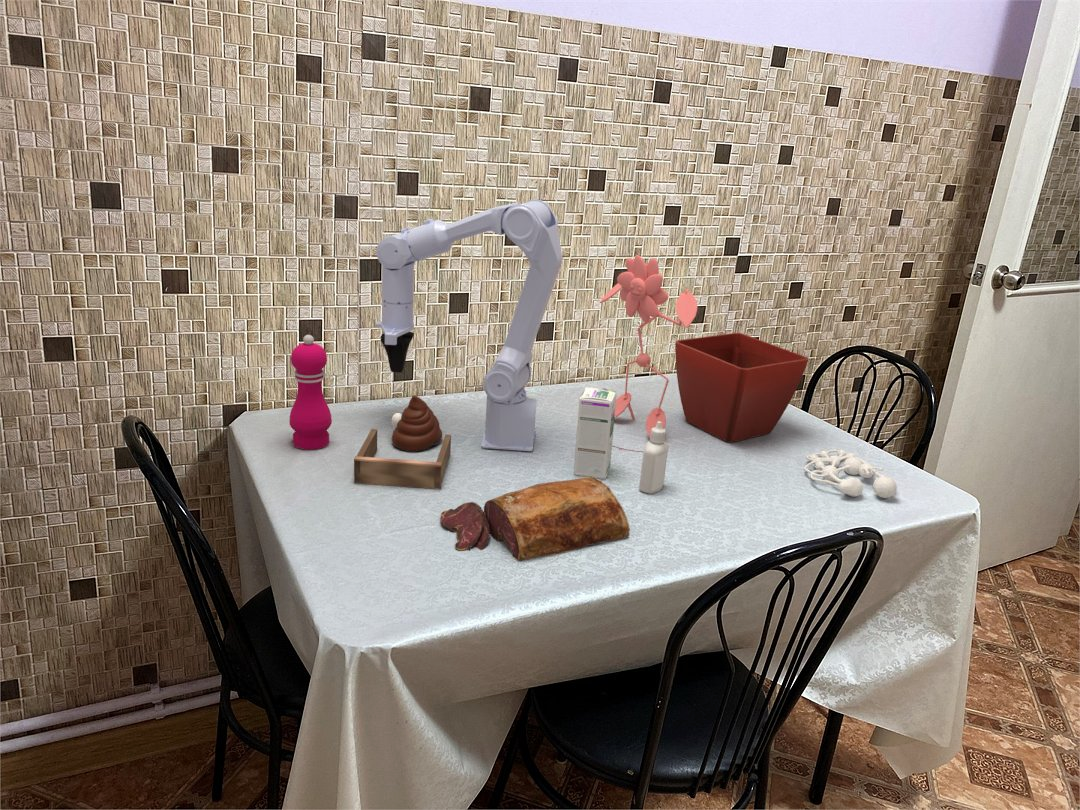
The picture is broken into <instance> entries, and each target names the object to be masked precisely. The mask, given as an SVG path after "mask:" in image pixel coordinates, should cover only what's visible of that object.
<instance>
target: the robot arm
mask: <svg viewBox="0 0 1080 810" xmlns="http://www.w3.org/2000/svg"><path fill="white" fill-rule="evenodd" d="M558 222H559V220H558V218H557V217H556V215H555V213H554V212H553V210H552V209H551V207H550V205H549V204H548V203H547V202H545V201H543V200H541V199H537V198H536V199H535V198H534V199H529V200H527V201H525V202H523V203H522V202H521V201H519V202H515V203H510V204H509V203H507V204H504V205H498V206H495V207H493V208H492V207H491V208H489V209H486V210H483V211H481V212H477V213H476V214H473V215H470V216H467V217H465V218H463V219H459V220H457V221H456V220H455V221H454V222H452V223H447V222H445V221H443V220H440V219H435V220H434V218H428V219H425V220H423V224H422V225H419V226H416V227H413V228H410V229H409V228H408V227H405V228H402V229H400V233H396V234H393V235H387V236H385V238H383V239H381V240H380V241H379V242H378V244H377V247H376V249H375V250H376V257H377V260H378V262H379V263H380V264H381V320H379V321H376V322H375V326H374V327H375V328H379V329H381V330H382V332H383V333H381V335H380V342H381V344H382V345H383V348H384V349H385V352H386V356H387V360H388V361H387V362H388V365H389V369H390V372H392V373H400V374H401V373H403V371H404V368H405V365H406V360H407V356H408V350H409V348H410V345H411V342H412V340H413V338H414V335H415V333H414V332H413V330H414V329H415V323H414V304H415V303H414V299H415V298H414V296H415V295H414V287H415V275H414V274H415V264H416V262H420V261H424V260H427V259H429V258H433V257H436V256H439V255H441V254H442V255H443V254H445V253H448V252H450V251H451V249H452V247H453V244H454V243H455V242H457V241H461V240H463V239H466V238H469V237H474V236H477V235H479V234H483V233H486V232H493V233H495V234H497V235H499V236H503V235H506V237H507V238H508V239H509V240H510V241H511V242H512V243H514V244H515V245H516V246H517V248H519V249H520V250H521V251H522V252H523V254H524V255H525V257H526V258H527V261H528V262H529V264H530V266H529V269H528V270H527V274H526V277H525V280H524V284H523V286H522V290H521V293H520V296H519V298H518V301H517V304H516V307H515V311H514V313H513V317H512V320H511V322H510V326H509V329H508V331H507V334H506V338H505V340H504V343H503V346H502V348H501V350H500V352H499V353H498V355H497V357H496V359H495V362H494V364H493V367H492V368H491V369H490V370H489V371H487V373H486V374H485V375H484V377H483V381H482V385H483V391H484V393H485V394H486V404H485V405H486V407H485V425H484V426H485V427H484V429H483V434H482V438H481V439H482V440H481V443H480V447H481V448H482V449H491V450H492V449H493V450H509V451H522V452H532V451H534V442H535V441H534V439H535V438H536V437H537V427H536V414H537V413H536V412H537V401H538V400H537V399H538V398H532V397H528V396H527V391H526V387H525V386H526V385H528V383H529V382H530V381H531V376H532V369H531V362H532V359H533V353H532V350H533V348H534V344H535V341H536V338H537V336H538V333H539V330H540V327H541V324H542V320H543V318H544V315H545V312H546V310H547V307H548V304H549V301H550V298H551V296H552V292H553V290H554V286H555V283H556V281H557V278H558V274H559V271H560V270H561V266H562V264H563V252H562V246H561V241H560V236H559V231H558V228H559V227H558V224H559V223H558Z"/></svg>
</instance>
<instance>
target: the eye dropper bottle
mask: <svg viewBox="0 0 1080 810" xmlns="http://www.w3.org/2000/svg"><path fill="white" fill-rule="evenodd" d="M666 433H667V430H666V429H665V428H664V429H663V428H662V422H660V421H658V422H657V425H656V427H654V428H652V429H651V435H650V437H649V441H648V442H647V443H646V445H645V446H644V448H643V452H642V453H643V455H642V463H641V468H640V469H641V471H640V477H639V486H638V489H639V491H640V492H643V493H646V494H650V495H653V494H655V493H657V492H659V491H661V490H662V489H663V486H664V484H665V478H666V477H665V476H666V467H667V461H668V452H669V445H668V443H667V442H666V441H665V440H666V435H665V434H666Z"/></svg>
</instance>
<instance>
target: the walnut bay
mask: <svg viewBox="0 0 1080 810" xmlns="http://www.w3.org/2000/svg"><path fill="white" fill-rule="evenodd" d="M451 447H452V434H444V438H443V441H442V444H441V447H440V450H439V452H438V456H437V459H436V461H423V460H410V459H396V458H386V457H385V458H384V457H375V456H376V453H377V452H378V429H377V428H376V429H375V428H371V429H370V431H369V433H368V434H367V436H366V438H365V440H364V442H363V444H362V445H361V447H360V448H359V451H358V452H357V454H356V455H355V456H354V458H353V483H355V484H363V485H364V484H365V485H379V486H393V487H407V488H415V489H416V488H418V489H433V490H441V488H442V484H443V482H444V478H445V474H446V471H447V469H448V465H449V462H450V458H451V452H452V449H451Z"/></svg>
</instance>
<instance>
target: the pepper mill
mask: <svg viewBox="0 0 1080 810" xmlns="http://www.w3.org/2000/svg"><path fill="white" fill-rule="evenodd" d="M302 341H303V343H299V344H298V345H297V346H295V347H294V348H293V350H292V351H291V355H290V362H291V365H292V366H293V367H294V369H295V370H294V371H293V372H294V373H293V374H294V380H295V381H296V384H297V392H296V397H295V399H294V400H295V401H294V403H293V404H292V405H293V406H292V407H291V409H290V412H289V426H290V428H291V429H292V430H293V431H294V432H293V433H292V445H293V446H294V447H296V448H298V449H301V450H305V451H307V450H312V451H313V450H319V449H324V448H325V447H326V446H328V445H329V443H330V432H329V431H328V430H329V428H331V426H332V421H333V420H332V413H331V410H330V407H329V406H328V403H327V401H326V399H325V396H324V393H323V381H324V380H325V370H324V368H325V367H326V365H327V362H328V356H327V352H326V350H325V349H324V348H323V346H321V345H320V344H319V343H318V344H317V343H314V341H315V338H314V337H313V336H312V335H311V334H306V335H304V336H303V339H302Z"/></svg>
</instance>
